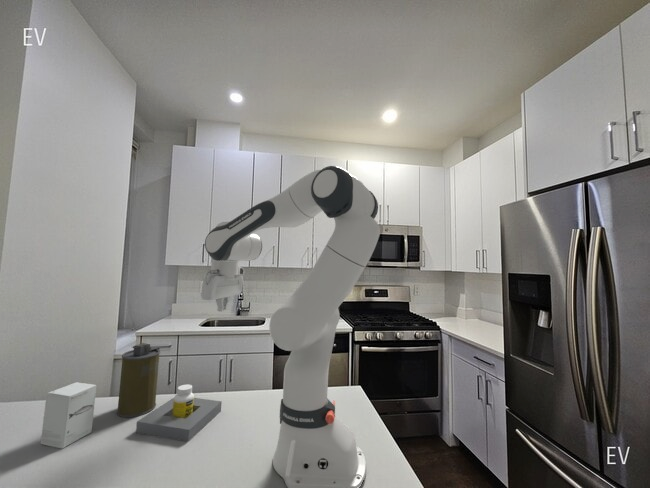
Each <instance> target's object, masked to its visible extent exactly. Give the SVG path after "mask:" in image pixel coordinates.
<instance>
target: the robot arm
mask: <svg viewBox="0 0 650 488" xmlns="http://www.w3.org/2000/svg"><path fill="white" fill-rule="evenodd" d="M378 203H379V202H378V200H377V197H376V196H375V195H374V193H373V191H371V190H369V189H368V188H367V186H365V185H364V183H363V182H362V181H361V180H360V179H358V178H357V177H356V176H354V175H352V174H351V173H350V172H349V171H348V170H347V169H344V168H342V167H340V166H335V165H329V166H326V167H323V168H322V169H316V170H313V171H311V172H309V173H308V174H306V175H305V176H303V177H301V178H299V179H298V180H296V181H295V182H294V183H292V184H291V185H290V186H288V187H287V188H286V189H284V190H283V191H281V192H280V193H278V194H277V195H275V196H273V197H271V198H269V199H267V200H264V201H262V202H259V203H257V204H255V205H254V206H253V207H250V208H249V209H247V210H246V211H244V212H243V213H241V214H240V215H238V216H237V217H236V218H234V219H232V220H230V221H223V222H222V221H221V222H220V223H218V224H217V225H216V226H215V227H214V228H212V229H211V230H210V231H209V233H208V234H207V236H206V237H205V240H204V249H205V251H206V252H207V254H208V256H209V257H210V258H211V262H210V263H211V264H210V270H208V271H207V272H206V274H205V276H204V278H203V281H202V285H201V293H200V294H201V295H200V297H201V300H203V301H214V300H215V303H216V305H217V309H216V310H217V312H224V311H227V310H228V304H229V302H230V299H231V298H230V297H234V296H240V295H241V294H242V291H243V287H244V286H243V285H244V284H243V283H244V275H245V269H244V268H243V267H242V266H241V265H240V261H242V262H243V261H244V262H247V261H248V262H249V261H255V260H256V259H257V260H258V258H259V256H260V255H261V253H262V251H263V241H262V238H260V236H259V234H257V233H256V232H258V231H260V230H263V229H268V228H297V227H299V226H301V225H304V224H305V223H308V222H309V221H310V220H312V219H313V218H314V217H315V216H317V215H318V214H320V213H321V212H323V213H324V214H325V215H326V217H327V218H328V219H333V220H334V223H335V224H334V225H335V226H334V229H333V232H332V234H331V236H330V238H328V239H329V240H328V241H327V243H326V245H325V246H324V248H323V250H322V251H321V253H320V255H319V256H318V258H317V260H316V262H315V263H314V265H313V267H312V269H311V270H310V272H309V273H308V275H307V276H306V277H305V279H303V281H302V282H301V283H300V285H298V287H297V288H296V289H295V291H294V292H293V293H292V294H291V296H290V297H289V298H288V299H287V301H285V303H284V304H282V305H281V306H280V308H278V309H277V310H276V311H275V312H274V313H273V315H272V316H271V318H270V321H269V326H268V328H269V334H270V338H271V341H272V342H273V343H274V344H275V346H277V347H278V348H279V349H281V350H284V351H286V352H287V351H288V352H290V354H289V357H288V359H287V361H286V363H285V366H284V370H283V387H282V399H280V405H279V424H280V427H279V428H280V429H279V433H278V439H277V444H276V449H275V451H274V454H273V458H272V466H273V469H274V470H275V472H276V473H277V474H278V475H279V476H281V477H282V479H283V481H284V483H285V485H286V487H287V488H357V487H359V486H360V485H361V483H362V482H363V480H364V481H365V479H366V475H365V473H367V462H366V457H365V454H364V453H365V452H364V451H363V450H362V449H361V448H360V447H359V446H357V442H356V438H355V434H354V432H353V431H352V429H351V428H349V426H347V425H346V424H345V423H344V422H343V421H341V419H339V418H338V417H337V416H336V402H335V400H333V401H332V402H331V400H330V399H328V390H329V389H328V388H329V386H328V385H329V369H330V361H331V357H332V352H333V347H334V342H335V337H336V331H337V326H338V324H339V322H340V316H341V315H340V311H339V307H340V306H341V305H342V304H343V302H344V301H345V300H346V299H347V298H348V296H349V295H350V294H351V292H352V291H353V289H354V287H355V286H356V284H357V283H358V281H359V279H360V277H361V275H362V274H363V272H364V270H365V268H366V266H367V265H368V263H369V262H370V260H371V257H372V255H373V253H374V251H375V249H376V246H377V243H378V241H379V239H380V236H381V235H380V234H381V228H380V225H379V224H378V223H379V222H377V221H376V219H375V218H376V217H377V214H378V212H379V204H378ZM360 455H361V456H360ZM364 478H365V479H364ZM363 483H364V482H363Z"/></svg>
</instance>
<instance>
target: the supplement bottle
mask: <svg viewBox="0 0 650 488" xmlns="http://www.w3.org/2000/svg"><path fill="white" fill-rule="evenodd" d="M173 398H174V403H173V413H172V417H177V418H184V419H186V418H187V417H188V416H189V415H191V414H192V412H193V401H194V398H195V394H194V393H193V385H192V384H181V385H178V387H177V391H176V395H175V396H174V397H173Z"/></svg>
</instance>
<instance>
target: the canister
mask: <svg viewBox="0 0 650 488" xmlns="http://www.w3.org/2000/svg"><path fill="white" fill-rule="evenodd" d="M131 348H132V350H129V351H126V352H124V353H122V355H121V371H120V378H119V379H120V383H119V393H118V404H117V410H116V415H117V416H119V417H121V418H134V417H139V416H142V415H145V414H146V415H147V413H148V414H149V413H151V412H152V411H154V410H155V408H156V406H157V402H156V399H157V388H158V387H157V386H158V375H159V364H160V354H161V350H160V348H159V347H155V346H154V347H151V344H149V343H147V342H146V343H144V342H141V343H139V344H136V345H134V346H132V347H131Z"/></svg>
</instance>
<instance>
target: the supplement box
mask: <svg viewBox="0 0 650 488" xmlns="http://www.w3.org/2000/svg"><path fill="white" fill-rule="evenodd" d="M96 393H97V385H96V384H93V383H83V382H78V381H76V382H73V383H71V384H68V385H65V386H63V387H60V388H57V389H55V390H52V391H48V392H47V393H46V395H45V396H46V397H45V403H44V413H43V415H44V416H43V422H42V429H41V438H40V445H43V446H48V447H53V448H57V449H64V448H66V447H68V446H69V445H71V444H73V443H74V442H76V441H78V440H80V439H81V438H83V437H85V436H86V435H89V434H91V433H93V432H92V430H93V423H94V413H95V403H96V402H95V401H96Z"/></svg>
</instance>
